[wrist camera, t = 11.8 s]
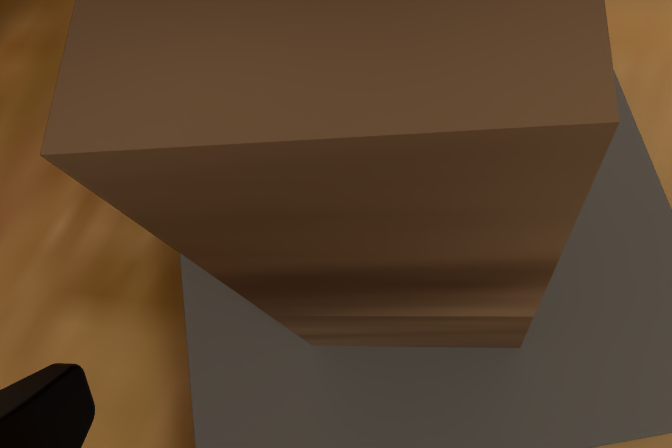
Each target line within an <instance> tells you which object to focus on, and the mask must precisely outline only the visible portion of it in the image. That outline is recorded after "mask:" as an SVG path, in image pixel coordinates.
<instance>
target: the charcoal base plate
mask: <svg viewBox="0 0 672 448" xmlns="http://www.w3.org/2000/svg"><path fill="white" fill-rule="evenodd" d="M613 72H614V70H613ZM614 80H615V88H616V96H617V104H618V112H619V120H620V123H619V125H618V127H617V129H616V132H615V134H614V136H613V138H612V141H611V143H610V145H609V147H608V150H607V152H606V154H605V157H604V159H603V161H602V163H601V166H600V168H599V170H598V172H597V175H596V177H595V179H594V182H593V184H592V186H591V188H590V191H589V193H588V195H587V197H586V200H585V202H584V204H583V207H582V209H581V211H580V213H579V216H578V218H577V220H576V222H575V225H574V227H573V229H572V231H571V234H570V236H569V238H568V241H567V243H566V245H565V247H564V250H563V252H562V254H561V256H560V259H559V261H558V263H557V266H556V268H555V270H554V272H553V275H552V277H551V279H550V281H549V284H548V286H547V288H546V290H545V293H544V295H543V297H542V300H541V302H540V304H539V306H538V309H537V311H536V313H535V315H534V318H533V320H532V322H531V325H530V327H529V329H528V331H527V334H526V336H525V338H524V340H523V343H522V345H521V347H520V348H461V347H380V346H312V345H311V344H309V343H308V342H307V341H305V340H304V339H302V338H301V337H299V336H298V335H297V334H295V333H294V332H292V331H291V330H289V329H288V328H287V327H285V326H284V325H282V324H281V323H279V322H278V321H277V320H275V319H274V318H272V317H271V316H269V315H268V314H267V313H265V312H264V311H262V310H261V309H259V308H258V307H256V306H255V305H254V304H252V303H251V302H249V301H248V300H246V299H245V298H244V297H242V296H241V295H239V294H238V293H236V292H235V291H234V290H232V289H231V288H229V287H228V286H226V285H225V284H224V283H222V282H221V281H219V280H218V279H216V278H215V277H214V276H212V275H211V274H209V273H208V272H206V271H205V270H204V269H202V268H201V267H199V266H198V265H196V264H195V263H194V262H192V261H191V260H189V259H188V258H186V257H185V256H184V255H182V254H181V253H180V262H181V275H182V287H183V299H184V312H185V324H186V337H187V349H188V362H189V374H190V387H191V399H192V411H193V424H194V436H195V448H592V447H597V446H602V445H608V444H613V443H619V442H624V441H630V440H635V439H641V438H646V437H651V436H657V435H662V434H668V433H672V210H671V207H670V205H669V203H668V200H667V198H666V195H665V193H664V190H663V188H662V186H661V183H660V181H659V178H658V176H657V174H656V171H655V169H654V166H653V164H652V161H651V159H650V157H649V154H648V152H647V149H646V147H645V145H644V142H643V140H642V137H641V135H640V132H639V130H638V128H637V125H636V123H635V120H634V118H633V116H632V113H631V111H630V108H629V106H628V103H627V101H626V99H625V96H624V94H623V91H622V89H621V87H620V84H619V82H618V79H617V77H616V74H615V72H614Z"/></svg>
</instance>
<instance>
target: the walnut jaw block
mask: <svg viewBox="0 0 672 448" xmlns="http://www.w3.org/2000/svg"><path fill="white" fill-rule="evenodd" d="M619 123H620V120H619V112H618V104H617V96H616V88H615V80H614V72H613V64H612V57H611V49H610V41H609V33H608V25H607V17H606V9H605V1H604V0H75V5H74V9H73V13H72V18H71V22H70V26H69V31H68V35H67V40H66V44H65V48H64V53H63V57H62V61H61V66H60V70H59V74H58V79H57V83H56V87H55V92H54V96H53V101H52V105H51V109H50V114H49V118H48V122H47V127H46V131H45V135H44V140H43V144H42V148H41V153H40V155H41V156H42V157H43V158H45V159H46V160H48V161H49V162H51V163H52V164H53V165H55V166H56V167H58V168H59V169H61V170H62V171H64V172H65V173H66V174H68V175H69V176H71V177H72V178H74V179H75V180H76V181H78V182H79V183H81V184H82V185H84V186H85V187H86V188H88V189H89V190H91V191H92V192H94V193H95V194H96V195H98V196H99V197H101V198H102V199H104V200H105V201H106V202H108V203H109V204H111V205H112V206H114V207H115V208H116V209H118V210H119V211H121V212H122V213H124V214H125V215H126V216H128V217H129V218H131V219H132V220H134V221H135V222H136V223H138V224H139V225H141V226H142V227H144V228H145V229H146V230H148V231H149V232H151V233H152V234H154V235H155V236H156V237H158V238H159V239H161V240H162V241H164V242H165V243H166V244H168V245H169V246H171V247H172V248H174V249H175V250H176V251H178V252H179V253H181V254H182V255H184V256H185V257H186V258H188V259H189V260H191V261H192V262H194V263H195V264H196V265H198V266H199V267H201V268H202V269H204V270H205V271H206V272H208V273H209V274H211V275H212V276H214V277H215V278H216V279H218V280H219V281H221V282H222V283H224V284H225V285H226V286H228V287H229V288H231V289H232V290H234V291H235V292H236V293H238V294H239V295H241V296H242V297H244V298H245V299H246V300H248V301H249V302H251V303H252V304H254V305H255V306H256V307H258V308H259V309H261V310H262V311H264V312H265V313H267V314H268V315H269V316H271V317H272V318H274V319H275V320H277V321H278V322H279V323H281V324H282V325H284V326H285V327H287V328H288V329H289V330H291V331H292V332H294V333H295V334H297V335H298V336H299V337H301V338H302V339H304V340H305V341H307V342H308V343H309V344H311V345H312V346H380V347H461V348H520V347H521V345H522V343H523V340H524V338H525V336H526V334H527V331H528V329H529V327H530V325H531V322H532V320H533V318H534V315H535V313H536V311H537V309H538V306H539V304H540V302H541V300H542V297H543V295H544V293H545V290H546V288H547V286H548V284H549V281H550V279H551V277H552V275H553V272H554V270H555V268H556V266H557V263H558V261H559V259H560V256H561V254H562V252H563V250H564V247H565V245H566V243H567V241H568V238H569V236H570V234H571V231H572V229H573V227H574V225H575V222H576V220H577V218H578V216H579V213H580V211H581V209H582V207H583V204H584V202H585V200H586V197H587V195H588V193H589V191H590V188H591V186H592V184H593V182H594V179H595V177H596V175H597V172H598V170H599V168H600V166H601V163H602V161H603V159H604V157H605V154H606V152H607V150H608V147H609V145H610V143H611V141H612V138H613V136H614V134H615V132H616V129H617V127H618V125H619Z"/></svg>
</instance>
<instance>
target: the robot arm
mask: <svg viewBox="0 0 672 448" xmlns="http://www.w3.org/2000/svg"><path fill="white" fill-rule="evenodd" d="M94 415H95V405H94V401H93V398H92V395H91V392H90V389H89V385H88V382H87V379H86V376H85V373H84V371H83V369H82V368H81V367H80V366H79V365H77V364H64V363H56V364H52V365H50V366H48V367H46V368H44V369H42V370H40V371H38V372H36V373H34V374H32V375H30V376H28V377H26V378H24V379H22V380H20V381H18V382H16V383H14V384H12V385H10V386H8V387H6V388H4V389H2V390H0V448H81V447H82V445H83V442H84V440H85V438H86V436H87V433H88V431H89V429H90V427H91V424H92V422H93V419H94Z"/></svg>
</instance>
